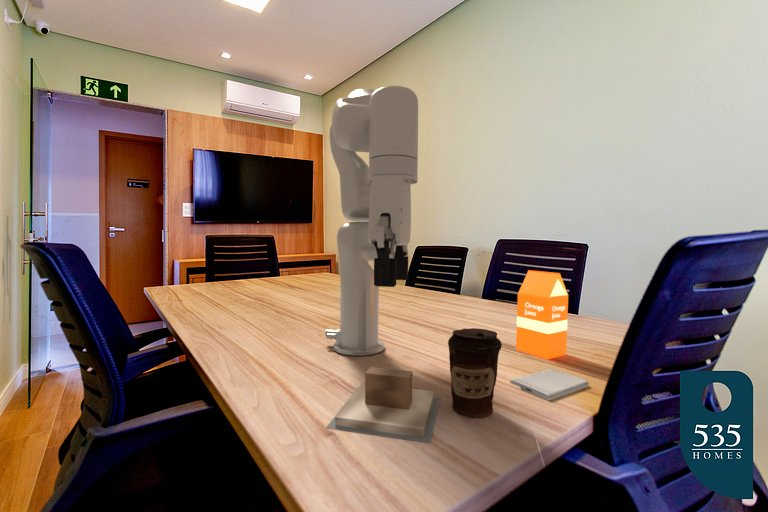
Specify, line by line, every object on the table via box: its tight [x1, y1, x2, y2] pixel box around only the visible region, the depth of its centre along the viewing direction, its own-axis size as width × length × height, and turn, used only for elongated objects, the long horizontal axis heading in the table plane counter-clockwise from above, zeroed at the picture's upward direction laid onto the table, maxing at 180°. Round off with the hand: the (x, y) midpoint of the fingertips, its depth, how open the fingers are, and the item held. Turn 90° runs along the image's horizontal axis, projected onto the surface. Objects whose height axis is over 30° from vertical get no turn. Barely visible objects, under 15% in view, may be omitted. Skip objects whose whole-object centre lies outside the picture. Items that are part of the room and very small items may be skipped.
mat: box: [325, 386, 441, 444], centre depth 59 cm, size 15×15×1 cm
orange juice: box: [515, 269, 569, 360], centre depth 91 cm, size 8×9×20 cm
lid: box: [334, 366, 435, 438], centre depth 58 cm, size 13×13×6 cm
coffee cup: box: [447, 327, 503, 420], centre depth 59 cm, size 9×8×13 cm
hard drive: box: [509, 368, 590, 402], centre depth 70 cm, size 2×8×12 cm
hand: (392, 282), depth 58 cm, fingers open, 9 cm apart
